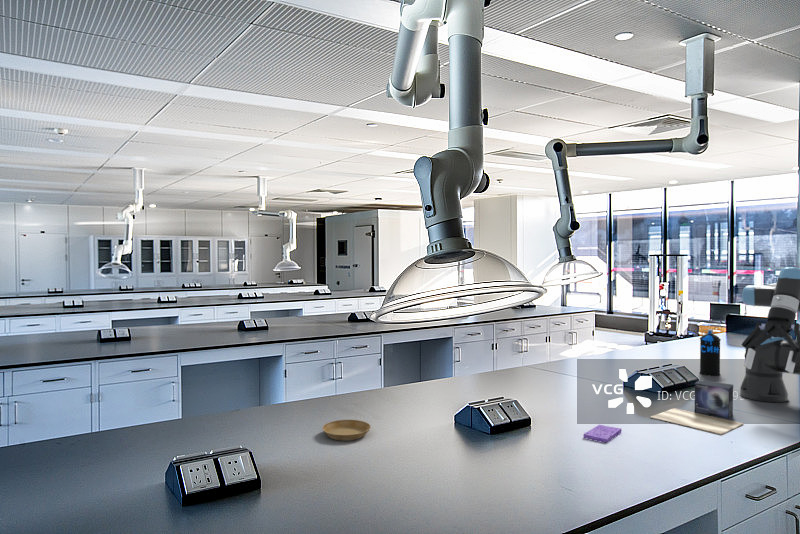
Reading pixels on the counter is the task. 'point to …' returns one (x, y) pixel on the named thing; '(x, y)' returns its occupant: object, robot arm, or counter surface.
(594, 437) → the sponges
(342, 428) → the plant saucer
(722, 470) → the counter surface
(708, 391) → the small box
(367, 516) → the counter surface
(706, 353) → the aerosol can
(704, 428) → the tan flat board
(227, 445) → the counter surface
